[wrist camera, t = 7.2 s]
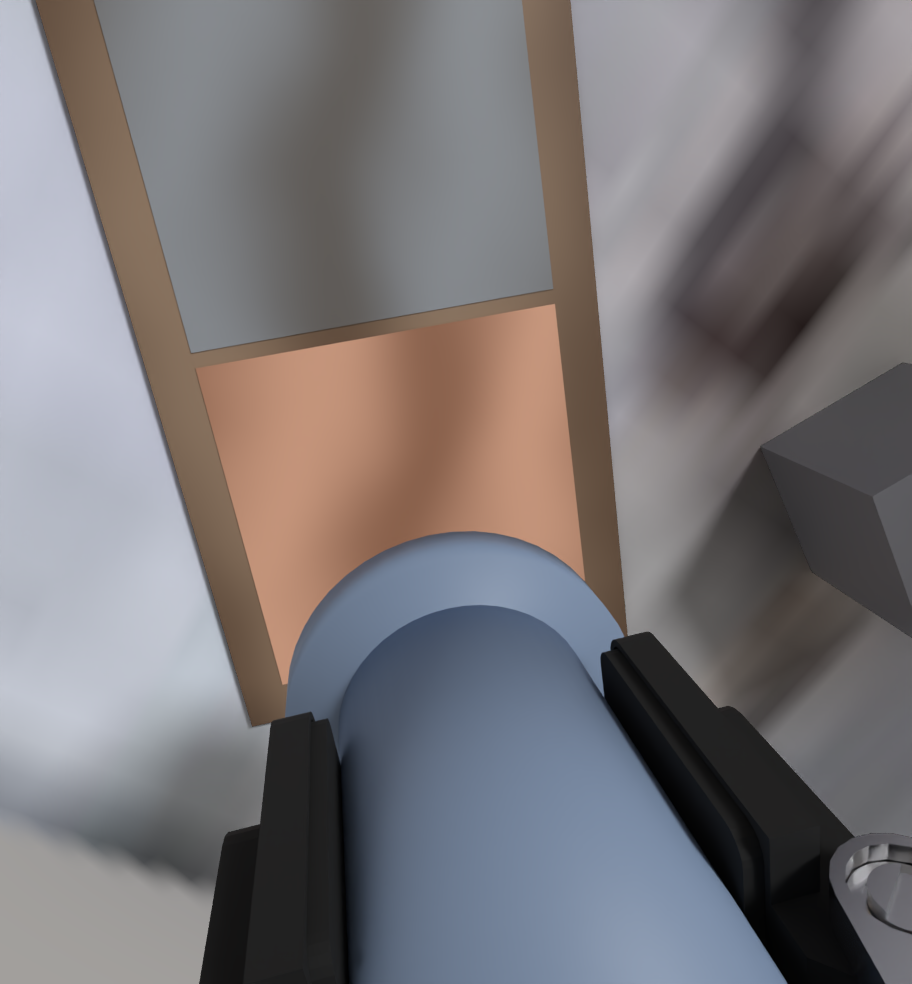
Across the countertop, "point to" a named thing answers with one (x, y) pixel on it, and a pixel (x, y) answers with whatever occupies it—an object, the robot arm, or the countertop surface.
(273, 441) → the board
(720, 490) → the countertop surface
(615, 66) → the countertop surface
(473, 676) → the pawn
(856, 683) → the countertop surface
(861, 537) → the die
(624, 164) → the countertop surface
